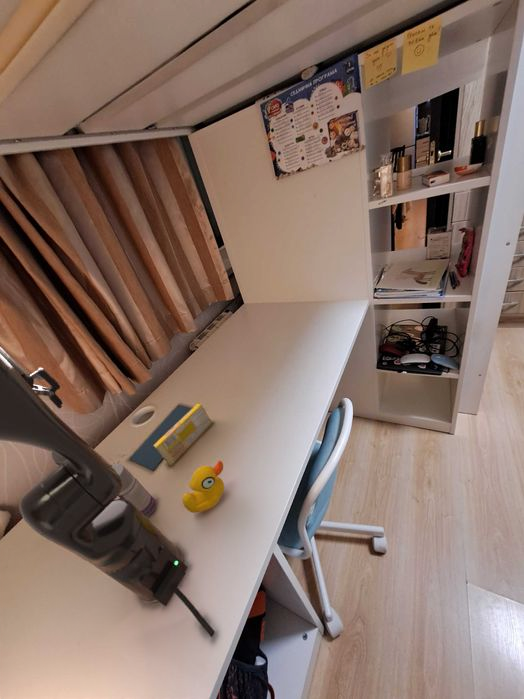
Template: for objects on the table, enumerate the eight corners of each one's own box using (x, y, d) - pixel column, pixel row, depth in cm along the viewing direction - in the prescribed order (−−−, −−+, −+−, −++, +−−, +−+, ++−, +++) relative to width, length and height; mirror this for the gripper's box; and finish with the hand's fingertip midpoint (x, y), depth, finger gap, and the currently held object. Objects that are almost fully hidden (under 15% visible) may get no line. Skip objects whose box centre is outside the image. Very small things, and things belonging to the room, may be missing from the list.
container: (135, 508, 70) (100, 473, 62) (152, 494, 72) (120, 458, 64) (141, 522, 67) (105, 487, 59) (159, 507, 69) (126, 471, 61)
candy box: (208, 421, 88) (197, 402, 84) (212, 423, 87) (202, 404, 82) (166, 463, 79) (152, 444, 75) (170, 466, 78) (156, 447, 73)
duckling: (228, 474, 71) (214, 449, 66) (239, 490, 67) (224, 464, 61) (187, 506, 67) (169, 483, 62) (196, 525, 63) (177, 501, 57)
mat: (202, 411, 93) (202, 410, 92) (153, 470, 78) (153, 470, 78) (178, 405, 98) (178, 404, 98) (129, 459, 84) (128, 458, 84)
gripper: (-56, 392, 53) (9, 447, 62) (26, 350, 60) (75, 404, 69) (-52, 380, 59) (7, 432, 67) (23, 342, 65) (69, 394, 74)
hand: (41, 418), depth 68 cm, fingers open, 8 cm apart
